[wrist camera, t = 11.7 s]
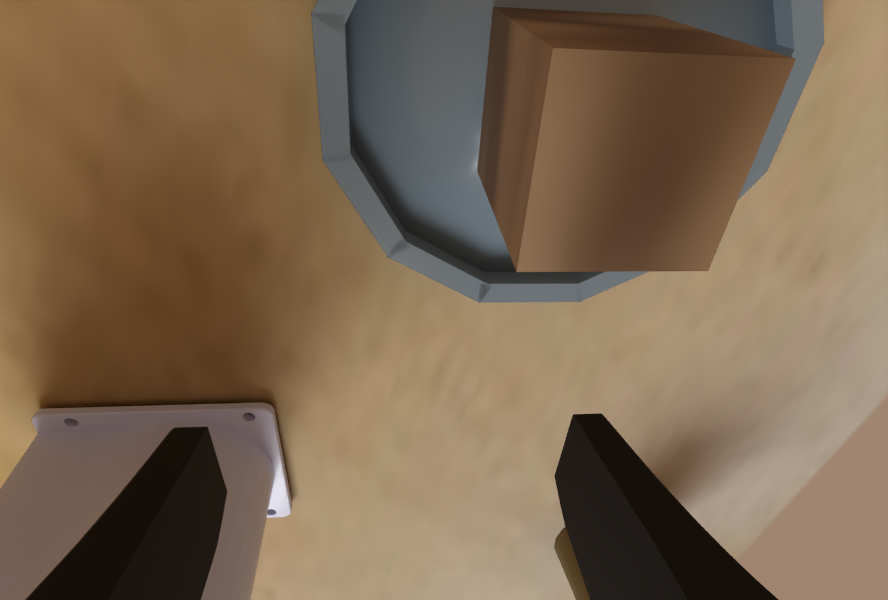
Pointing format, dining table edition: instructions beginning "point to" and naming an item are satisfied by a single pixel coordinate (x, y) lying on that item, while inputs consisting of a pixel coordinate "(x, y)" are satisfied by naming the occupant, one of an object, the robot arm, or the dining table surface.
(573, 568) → the cork
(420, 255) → the plate
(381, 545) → the dining table surface
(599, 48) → the block
